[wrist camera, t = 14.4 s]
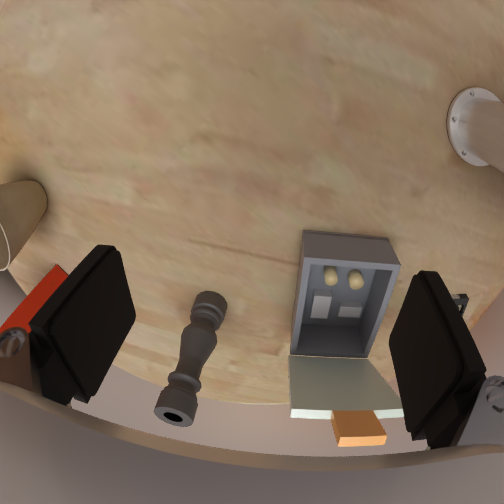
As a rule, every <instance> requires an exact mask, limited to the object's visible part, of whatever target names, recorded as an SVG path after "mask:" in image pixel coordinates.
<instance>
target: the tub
mask: <svg viewBox="0 0 504 504" xmlns="http://www.w3.org/2000/svg"><path fill="white" fill-rule="evenodd" d="M400 266H401V264H400V262H399V260H398V258H397V256H396V254H395V252H394V250H393V248H392V246H391V244H390V242H389V240H388V238H386V237H376V236H365V235H355V234H344V233H333V232H322V231H310V230H303V235H302V244H301V253H300V262H299V270H298V278H297V286H296V294H295V301H294V309H293V316H292V323H291V345H290V354H291V355H305V356H323V357H347V358H367V357H368V354H369V352H370V350H371V347H372V345H373V342H374V340H375V337H376V335H377V332H378V330H379V327H380V324H381V322H382V319H383V316H384V314H385V311H386V308H387V305H388V303H389V300H390V297H391V294H392V291H393V288H394V285H395V282H396V279H397V276H398V273H399V269H400Z"/></svg>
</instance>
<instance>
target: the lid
mask: <svg viewBox="0 0 504 504" xmlns="http://www.w3.org/2000/svg"><path fill="white" fill-rule="evenodd" d="M288 373H289V376H288V378H289V397H290V417H291V418H312V419H313V418H314V419H331V423H332V426H333V430H334V434H335V437H336V441H337V444H338V446H370V445H384V444H385V441H386V438H387V434H386V432H385V430H384V429H383V427H382V425H381V423H380V422H379V420H378V418H394V417H404V413H403V408H402V403H401V399H400V398H399V397H398V395H397V394H396V393H395V392H394V390H393V389H392V388H391V387H390V385H389V384H388V383H387V382H386V381H385V379H384V378H383V377H382V376H381V374H380V373H379V372H378V371H377V370H376V368H375V367H374V366H373V365H372V363H371V362H370V361H369V360H368V359H349V358H324V357H306V356H292V355H289V357H288Z"/></svg>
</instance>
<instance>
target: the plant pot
mask: <svg viewBox="0 0 504 504" xmlns="http://www.w3.org/2000/svg"><path fill="white" fill-rule="evenodd" d="M46 208H47V196H46V193H45V191H44V189H43V187H42V186H41V185H40V184H39V183H38V182H36V181H18V182H12V183H6V184H2V185H0V271H4V270H5V269H7V268H8V266H9V265H10V264H11V262H12V261H13V260H14V258H15V257H16V256H17V254H18V253H19V252H20V250H21V249H22V247H23V246H24V245H25V243H26V242H27V240H28V239H29V237H30V236H31V234H32V233H33V231H34V229H35V228H36V226H37V224H38V223H39V221H40V219H41V217H42V215H43V214H44V212H45V210H46Z"/></svg>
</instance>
